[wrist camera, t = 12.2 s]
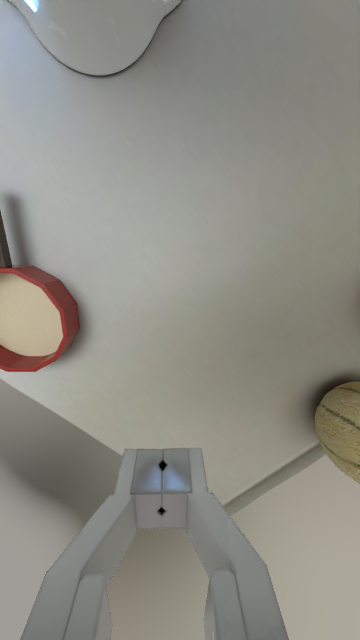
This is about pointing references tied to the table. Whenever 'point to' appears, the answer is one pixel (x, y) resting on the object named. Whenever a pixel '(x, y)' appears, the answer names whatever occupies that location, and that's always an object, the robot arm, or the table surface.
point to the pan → (32, 315)
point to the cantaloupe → (341, 427)
